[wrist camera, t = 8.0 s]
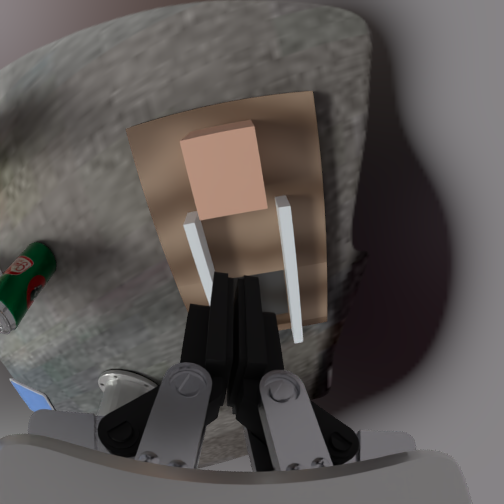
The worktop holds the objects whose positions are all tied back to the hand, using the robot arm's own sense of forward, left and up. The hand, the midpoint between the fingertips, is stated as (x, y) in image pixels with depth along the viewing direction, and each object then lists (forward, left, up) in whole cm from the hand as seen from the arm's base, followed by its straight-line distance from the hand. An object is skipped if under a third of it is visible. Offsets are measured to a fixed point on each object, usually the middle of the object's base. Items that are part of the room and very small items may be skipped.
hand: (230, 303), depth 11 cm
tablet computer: (-45, +66, -18) cm, 82 cm away
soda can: (-4, +26, -18) cm, 32 cm away
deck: (-6, 0, -18) cm, 19 cm away
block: (+2, 0, -16) cm, 16 cm away
